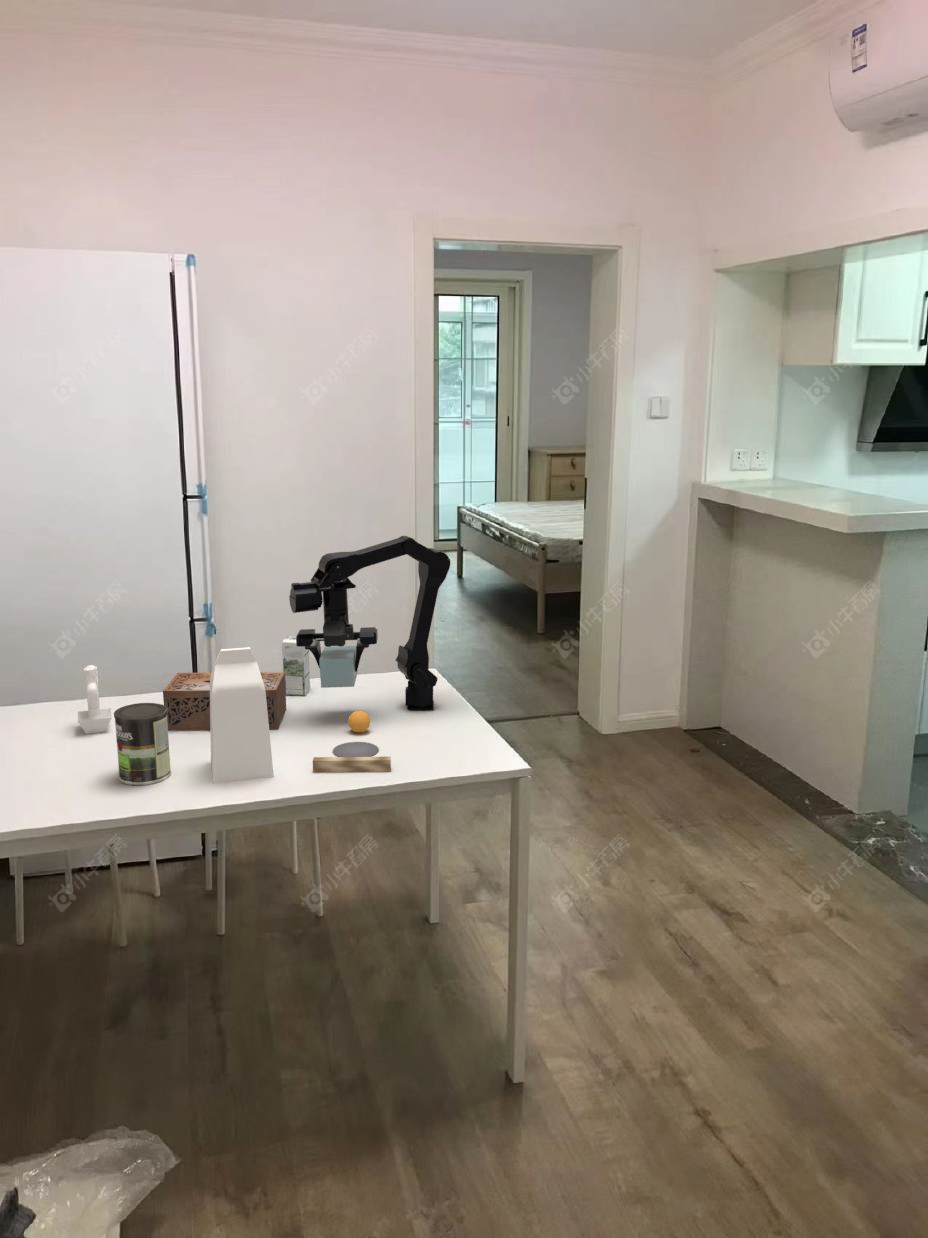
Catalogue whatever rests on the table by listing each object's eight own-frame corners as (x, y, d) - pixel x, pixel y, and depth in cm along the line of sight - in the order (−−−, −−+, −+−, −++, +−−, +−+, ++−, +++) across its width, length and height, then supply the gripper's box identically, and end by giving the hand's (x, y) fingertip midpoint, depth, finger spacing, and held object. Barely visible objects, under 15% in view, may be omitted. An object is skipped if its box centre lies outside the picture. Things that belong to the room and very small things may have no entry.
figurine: (79, 738, 225) (73, 674, 222) (79, 725, 234) (73, 663, 230) (112, 734, 228) (107, 671, 224) (111, 721, 236) (106, 660, 233)
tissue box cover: (165, 732, 230) (162, 690, 228) (180, 711, 244) (177, 672, 242) (278, 731, 231) (276, 690, 229) (286, 711, 245) (284, 672, 243)
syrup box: (311, 689, 261) (309, 636, 258) (305, 696, 255) (303, 641, 252) (289, 688, 262) (287, 635, 258) (283, 695, 256) (281, 641, 253)
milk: (213, 783, 201) (206, 658, 195) (210, 762, 212) (203, 644, 206) (273, 776, 204) (268, 654, 198) (268, 756, 215) (263, 640, 209)
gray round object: (379, 742, 223) (379, 741, 223) (377, 759, 214) (377, 758, 214) (334, 742, 223) (334, 742, 223) (330, 759, 213) (330, 758, 213)
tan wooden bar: (390, 767, 209) (390, 756, 208) (390, 771, 207) (390, 760, 206) (314, 768, 208) (313, 757, 208) (313, 772, 206) (312, 760, 206)
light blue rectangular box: (357, 672, 243) (356, 645, 242) (354, 686, 232) (352, 658, 231) (325, 673, 243) (324, 646, 241) (321, 687, 232) (319, 659, 231)
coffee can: (133, 790, 197) (128, 722, 194) (110, 775, 204) (104, 710, 201) (181, 776, 204) (176, 710, 201) (156, 762, 211) (152, 699, 208)
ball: (370, 728, 233) (370, 707, 231) (369, 735, 228) (369, 714, 227) (349, 728, 232) (348, 707, 231) (347, 735, 228) (347, 715, 226)
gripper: (291, 617, 225) (295, 683, 229) (373, 615, 226) (376, 680, 230) (297, 606, 236) (301, 669, 240) (376, 603, 237) (379, 666, 241)
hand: (339, 671), depth 237 cm, fingers closed on light blue rectangular box, 8 cm apart
